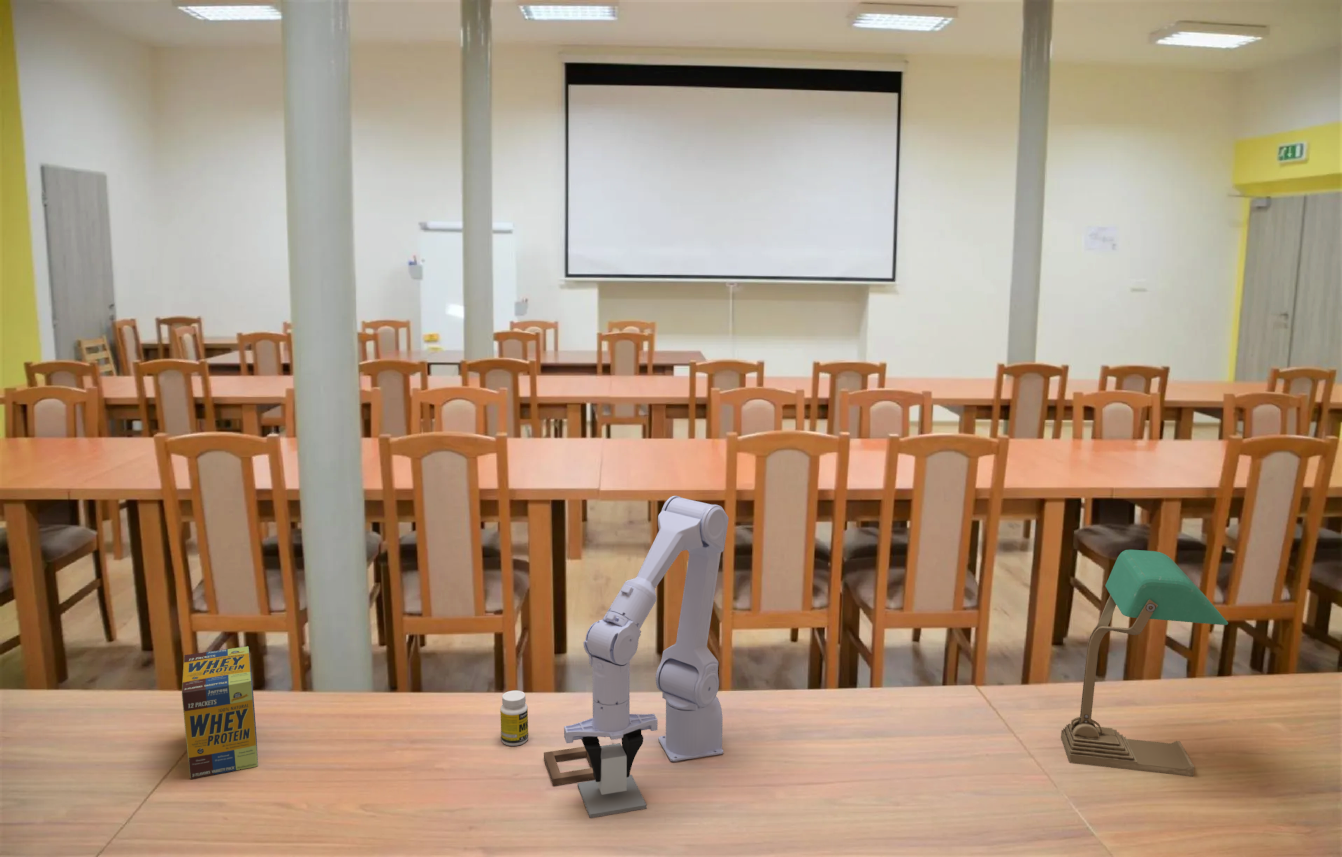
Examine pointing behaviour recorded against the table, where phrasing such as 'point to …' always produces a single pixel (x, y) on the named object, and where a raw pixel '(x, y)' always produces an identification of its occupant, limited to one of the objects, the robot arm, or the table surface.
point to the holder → (571, 776)
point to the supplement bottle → (514, 718)
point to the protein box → (219, 712)
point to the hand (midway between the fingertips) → (611, 776)
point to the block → (613, 769)
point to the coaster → (611, 799)
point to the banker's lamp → (1142, 593)
